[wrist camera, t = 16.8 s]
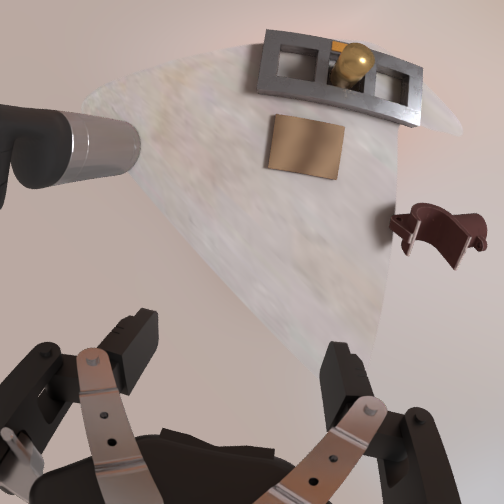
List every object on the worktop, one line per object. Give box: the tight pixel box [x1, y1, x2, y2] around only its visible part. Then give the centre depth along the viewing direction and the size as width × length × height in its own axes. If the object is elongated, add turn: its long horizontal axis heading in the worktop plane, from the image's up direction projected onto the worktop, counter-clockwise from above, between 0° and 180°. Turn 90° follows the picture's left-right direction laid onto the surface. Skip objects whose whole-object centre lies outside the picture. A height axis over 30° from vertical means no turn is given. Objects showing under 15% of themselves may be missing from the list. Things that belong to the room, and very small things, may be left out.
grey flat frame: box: [257, 29, 423, 128], centre depth 34 cm, size 24×10×3 cm, turn 82°
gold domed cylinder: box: [329, 43, 375, 90], centre depth 31 cm, size 4×4×10 cm
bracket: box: [389, 203, 487, 271], centre depth 37 cm, size 6×17×10 cm, turn 95°
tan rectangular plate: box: [268, 114, 345, 180], centre depth 39 cm, size 10×8×1 cm
